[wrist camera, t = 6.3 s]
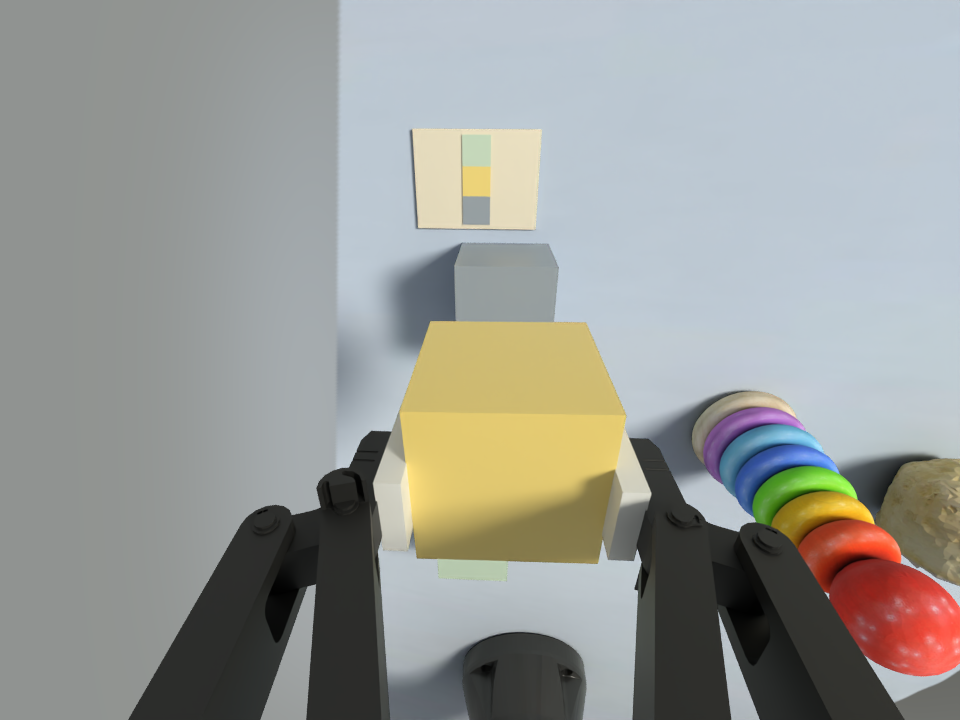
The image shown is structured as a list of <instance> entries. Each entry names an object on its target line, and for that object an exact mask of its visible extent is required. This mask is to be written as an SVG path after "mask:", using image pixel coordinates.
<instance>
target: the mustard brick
mask: <svg viewBox="0 0 960 720" xmlns="http://www.w3.org/2000/svg"><path fill="white" fill-rule="evenodd" d="M400 420H401V429H402V437H403V446H404V454H405V463H406V464H407V473H408V483H409V493H410V503H411V513H412V522H413V530H414V539H415V547H416V555H417V558H420V559H454V560H488V561H521V562H555V563H589V564H598V561H599V555H600V550H601V545H602V540H603V537H602V531H603V526H604V521H605V516H606V511H607V507H608V502H609V497H610V492H611V487H612V482H613V478H614V473H615V469H616V467H617V462H618V457H619V452H620V446H621V441H622V436H623V431H624V426H625V420H626V413H625V411H624V409H623V406H622V404H621V402H620V400H619V397H618V395H617V393H616V390H615V388H614V386H613V383H612V381H611V379H610V377H609V374H608V372H607V370H606V367H605V365H604V363H603V360H602V358H601V356H600V354H599V351H598V349H597V347H596V344H595V342H594V340H593V337H592V335H591V333H590V331H589V328H588V326H587V324H586V323H580V322H471V321H430V324H429V327H428V330H427V333H426V336H425V339H424V342H423V345H422V348H421V350H420V353H419V356H418V359H417V362H416V365H415V368H414V371H413V374H412V377H411V380H410V382H409V385H408V388H407V391H406V394H405V397H404V400H403V403H402V406H401V409H400Z"/></svg>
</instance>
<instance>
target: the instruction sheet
mask: <svg viewBox="0 0 960 720" xmlns="http://www.w3.org/2000/svg"><path fill="white" fill-rule="evenodd" d="M412 131H413V148H414V165H415V182H416V199H417V215H418V228H451V229H520V230H535V228H536V212H537V197H538V181H539V165H540V150H541V134H542V130H536V129H412Z"/></svg>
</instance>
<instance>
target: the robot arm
mask: <svg viewBox="0 0 960 720" xmlns="http://www.w3.org/2000/svg"><path fill="white" fill-rule="evenodd" d="M405 394H406V393H405ZM404 397H405V396H404ZM403 400H404V399H403ZM402 403H403V402H402ZM401 406H402V404H401ZM400 409H401V407H400ZM317 492H318V497H319V501H320V506H321V508H319V509H316V510H313V511H309V512H305V513H300V514H296V515H291V513H290V510H289V509H287V508H286V507H284V506H279V505H272V506H266V507H263V508H261V509H258V510H256V511H255V512H253V513H252V514H250V515H249V516H248V517H247V518H246V519H245V520H244V521H243V523H242V524H241V525H240V527H239V529H238V531H237V532H236V534H235V536H234V538H233V539H232V541H231V543H230V544H229V546H228V548H227V550H226V551H225V553H224V555H223V557H222V558H221V560H220V562H219V564H218V565H217V567H216V569H215V570H214V573H213V574H212V576H211V577H210V579H209V581H208V583H207V584H206V586H205V588H204V589H203V591H202V593H201V595H200V596H199V598H198V600H197V602H196V603H195V605H194V607H193V609H192V610H191V612H190V614H189V616H188V617H187V619H186V621H185V622H184V624H183V626H182V628H181V629H180V631H179V633H178V634H177V636H176V638H175V640H174V641H173V643H172V645H171V647H170V648H169V650H168V652H167V654H166V656H165V657H164V659H163V660H162V662H161V664H160V666H159V667H158V669H157V671H156V673H155V674H154V676H153V678H152V679H151V681H150V683H149V685H148V686H147V688H146V690H145V692H144V693H143V696H142V697H141V699H140V700H139V702H138V704H137V705H136V707H135V709H134V711H133V712H132V714H131V716H130V718H129V720H260V719H261V716H262V713H263V710H264V708H265V705H266V702H267V699H268V696H269V693H270V690H271V688H272V685H273V682H274V679H275V676H276V674H277V671H278V668H279V665H280V662H281V660H282V656H283V654H284V651H285V648H286V645H287V643H288V640H289V637H290V634H291V631H292V628H293V626H294V623H295V620H296V617H297V614H298V612H299V609H300V606H301V603H302V600H303V597H304V595H305V592H306V589H307V586H311V585H315V584H316V594H315V609H314V621H313V622H314V623H313V635H312V649H311V663H310V677H309V692H308V704H307V718H306V720H390V712H389V697H388V683H387V668H386V654H385V640H384V625H383V611H382V596H381V582H380V567H379V558H378V549H379V545H380V542H381V541H382V547H383V550H386V551H408V548H409V543H410V539H411V534H412V530H413V522H412V513H411V503H410V493H409V483H408V473H407V464H406V463H405V454H404V446H403V437H402V429H401V420H400V410H399V413H398V415H397V418H396V421H395V424H394V427H393V429H392V432H387V431H371V432H370V433H369V434H368V435H366V436H365V437H364V438H363V439H362V440H361V442H360V444H359V447H358V449H357V453H355V455H354V458H353V461H352V462H351V464H350V467H349V468H340V469H337V470H334V471H332V472H330V473H328V474H327V475H325V476H324V477H323V478H322V479H321V480H320V481H319V483H318V486H317ZM602 537H603V541H604V545H605V549H606V553H607V557H608V560H623V561H634V558H635V555H636V551H637V549H638V552H639V555H640V558H641V561H642V563H641V567H640V571H639V574H638V578H637V582H636V585H635V589H634V590H638V606H637V629H636V652H635V675H634V698H633V720H731V714H730V706H729V698H728V690H727V681H726V673H725V665H724V657H723V649H722V641H721V633H720V625H719V617H718V612H719V614H720V617H721V619H722V622H723V625H724V627H725V630H726V632H727V635H728V638H729V640H730V643H731V646H732V648H733V651H734V653H735V656H736V659H737V661H738V664H739V666H740V669H741V672H742V674H743V677H744V679H745V682H746V685H747V687H748V690H749V692H750V695H751V698H752V700H753V703H754V706H755V708H756V711H757V713H758V716H759V719H760V720H904V718H903V716H902V715H901V713H900V712H899V710H898V708H897V707H896V705H895V704H894V702H893V700H892V699H891V697H890V696H889V694H888V693H887V691H886V689H885V688H884V686H883V685H882V683H881V681H880V680H879V678H878V677H877V675H876V673H875V672H874V670H873V669H872V667H871V665H870V664H869V662H868V661H867V659H866V658H865V656H864V654H863V653H862V651H861V650H860V648H859V646H858V645H857V643H856V642H855V640H854V638H853V637H852V635H851V634H850V632H849V630H848V629H847V627H846V626H845V624H844V623H843V621H842V619H841V618H840V616H839V615H838V613H837V611H836V610H835V608H834V607H833V605H832V603H831V602H830V600H829V599H828V597H827V595H826V594H825V592H824V591H823V589H822V587H821V586H820V584H819V583H818V581H817V580H816V578H815V576H814V575H813V573H812V572H811V570H810V568H809V567H808V565H807V564H806V562H805V560H804V559H803V557H802V556H801V554H800V552H799V551H798V549H797V548H796V546H795V545H794V543H793V542H792V541H791V540H790V539H789V538H788V537H787V536H786V535H785V534H783V533H782V532H780V531H779V530H778V529H775V528H773V527H771V526H769V525H766V524H762V523H757V522H755V523H747V524H745V525H743V526H742V527H741V529H740V531H739V532H736V531H733V530H729V529H726V528H722V527H719V526H716V525H713V524H710V523H708V522H706V521H705V518H704V517H703V516H702V514H701V513H700V512H699V511H698V510H697V509H695V508H694V507H692V506H691V505H689V504H686V502H685V500H684V498H683V496H682V494H681V492H680V490H679V488H678V486H677V484H676V482H675V480H674V478H673V476H672V474H671V472H670V471H669V468H668V466H667V464H666V462H665V460H664V458H663V456H662V454H661V452H660V449H659V448H658V447H657V446H656V445H654V444H653V443H652V442H651V441H650V440H649V439H636V438H629V437H628V435H627V433H626V430H625V428H624V431H623V436H622V441H621V446H620V452H619V457H618V462H617V467H616V469H615V473H614V478H613V482H612V487H611V492H610V497H609V502H608V507H607V511H606V516H605V521H604V526H603V531H602ZM462 683H463V691H464V695H465V700H466V705H467V710H468V715H469V720H582V719H583V711H584V703H585V696H586V677H585V671H584V664H583V661H582V659H581V657H580V655H579V654H578V653H577V652H576V651H575V650H574V649H573V648H572V647H570V646H569V645H567V644H565V643H563V642H561V641H559V640H557V639H554V638H551V637H547V636H543V635H537V634H528V633H515V634H505V635H500V636H496V637H492V638H489V639H487V640H484V641H482V642H480V643H479V644H477V645H476V646H474V647H473V648H472V649H471V650H470V651H469V652H468V653H467V655H466V657H465V659H464V665H463V679H462Z"/></svg>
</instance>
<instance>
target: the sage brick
mask: <svg viewBox="0 0 960 720" xmlns="http://www.w3.org/2000/svg"><path fill="white" fill-rule="evenodd" d="M507 567H508V561H488V560H454V559H438V575H439V578H445V579H468V580H491V581H507Z"/></svg>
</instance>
